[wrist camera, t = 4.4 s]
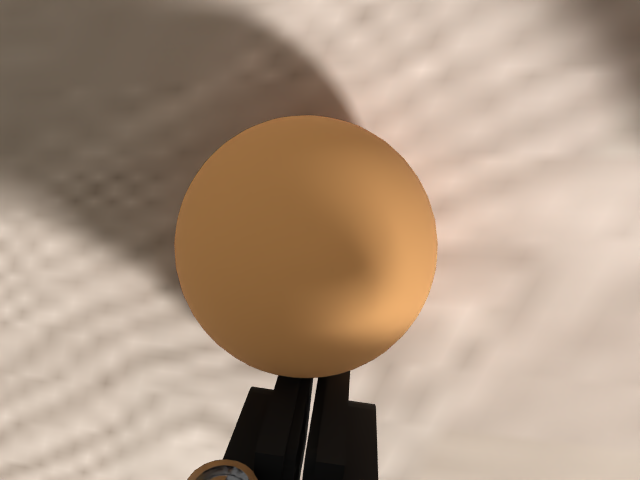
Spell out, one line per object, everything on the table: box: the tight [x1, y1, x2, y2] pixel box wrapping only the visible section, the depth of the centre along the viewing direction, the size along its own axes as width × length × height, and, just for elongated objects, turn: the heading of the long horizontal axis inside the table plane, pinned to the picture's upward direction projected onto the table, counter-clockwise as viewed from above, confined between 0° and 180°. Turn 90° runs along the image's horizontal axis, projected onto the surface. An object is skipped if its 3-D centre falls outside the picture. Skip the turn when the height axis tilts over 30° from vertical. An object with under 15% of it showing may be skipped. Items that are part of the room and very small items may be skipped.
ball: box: [174, 115, 438, 378], centre depth 10 cm, size 6×6×6 cm
